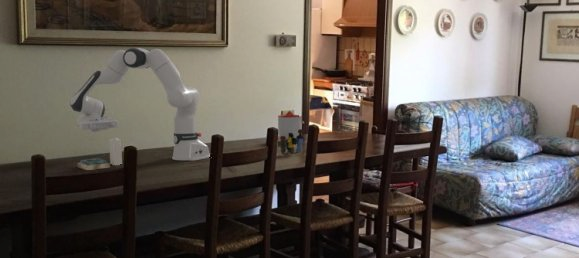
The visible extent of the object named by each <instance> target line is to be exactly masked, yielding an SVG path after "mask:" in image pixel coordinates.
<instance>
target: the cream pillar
mask: <svg viewBox="0 0 579 258" xmlns="http://www.w3.org/2000/svg"><path fill="white" fill-rule="evenodd" d="M122 146H123V145H122V139H120V138H118V137H112V139H111V138H110V139H109V161H110V162H109V163H110V165H111V164H112V165H111V166H114V165H115V166H121V165H120V164H122V165H123V149H122V148H123V147H122Z"/></svg>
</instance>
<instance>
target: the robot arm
mask: <svg viewBox="0 0 579 258" xmlns="http://www.w3.org/2000/svg"><path fill="white" fill-rule="evenodd" d="M131 68H132V69H141V70H143V69H149V68H150V69H151V70H152V71H153V73H154V74H155V76H156V77H157V79H158V80H159V81H160V83H161V86H163V89H164V91H165V94H166V99H167V103H168V104H169V105H170V106H171V107H174V108H176V112H175V116H174V118H173V123H174V124H173V126H174V127H173V129H174V132H173V154H172V158H171V159H172V160H174V161H193V162H194V161H198V160H204V159H210V158H209V157H210V154H211V153H210V149H209V146H208V145H207V144H206V143H204V142H203V141H202V140H201V139H199V138H201V137H202V133H201V132H196V111H197V106H198V103H199V100H200V96H201V95H200V92H199V90H198V89H197V88H195V87H194V86H190V85H187V86H186V85H185V84H184V82H183V81H182V78H181V73H180V71H179V70H178V68H177V67H176V66H175V64H174V63H173V62H172V60H171V59H170V57H169V56H168V55H167V54H166V53H165V51H163V50H162V49H160V48H154V49H147V48H143V47H132V48H128V49H126V50H123V49H119V50H116V52H114V54H113V55H112V56H111V57H110V59H109V60H108V62H107V64H106V65H105V66H104V67H103V68H101V69H100V70H96V71H95V72H93V74H92V75H91V76H90V77H89V78H88V79H87V81H86V82H85V83H84V84H83V85H82V87H81V88H80V89H78V91H77V92H76V93H74V95H72V97H71V98H70V103H69V105H70V107H71V110H73V111H74V112H77V113H82V114H81V115H79V116H78V117H77V124H76V126H77V127H79V129H80V130H81V131H82V130H84V131H89V132H92V133H98V132H100V131H105V130H109V129H115V128H118V127H119V121H118V120H117V119H114V118H111V117H109V116H108V117H107V116H104V115H105V112H106V106H105V104H104V102H103V101H101V100H99V99H96V98H93V97H90V96H88V95H89V94H90V93H91V92H92V90H94V88H95V87H96V86H98V85H116V84H119V83H120V82H121V81H122V80H123V79H124V78H125V76H126V74H127V72H128V70H129V69H131Z"/></svg>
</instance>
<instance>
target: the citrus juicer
mask: <svg viewBox="0 0 579 258" xmlns="http://www.w3.org/2000/svg"><path fill="white" fill-rule="evenodd" d="M302 118H303V116H302V115H299V114H294V113H293V112H292V111H291V110H289V111H288V112H287V113H285V114H279V115H277V130H279V133H278V137H279V140H280V142H281V141H282V140H281V138H280V137H281V136H285V137H286V139H285V140H287V139H288V138H289V136H288V135H289V134H288V133H293V135H294V137H295V138H296V137H297V136H298V135H299V133H298V130H299V129H302V125H303V124H305V122H304V120H303V119H302Z"/></svg>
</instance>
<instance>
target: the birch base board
mask: <svg viewBox="0 0 579 258" xmlns="http://www.w3.org/2000/svg"><path fill="white" fill-rule="evenodd" d="M76 165H77V168H79V169H81V170H84V171H92V170H93V171H94V170H99V169H100V170H102V169H108V168H111V164H110V162H107V160H106V159H102V158H101V157H98V158H89V159H81V160H80V162H77V164H76Z"/></svg>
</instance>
